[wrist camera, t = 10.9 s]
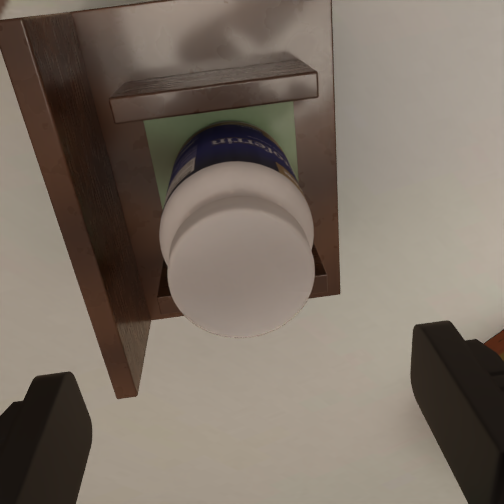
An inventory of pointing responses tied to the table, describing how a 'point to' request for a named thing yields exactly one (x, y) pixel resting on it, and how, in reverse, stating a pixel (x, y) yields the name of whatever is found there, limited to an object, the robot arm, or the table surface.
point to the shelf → (166, 134)
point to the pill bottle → (236, 232)
